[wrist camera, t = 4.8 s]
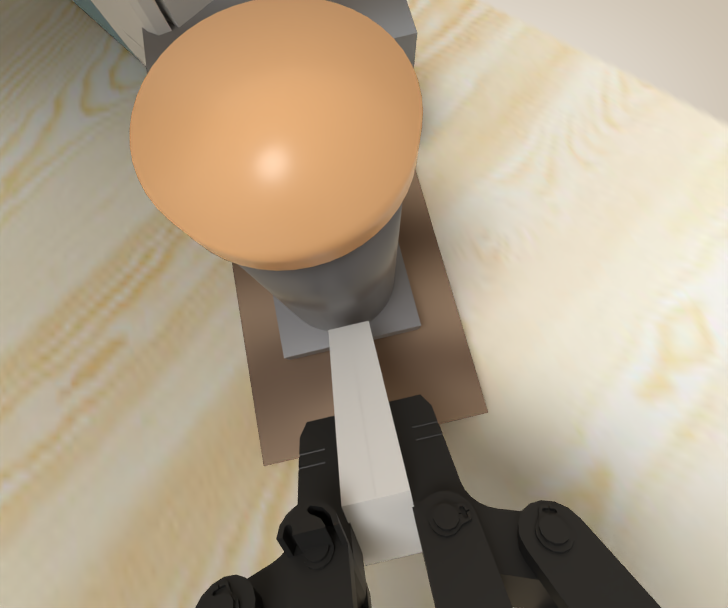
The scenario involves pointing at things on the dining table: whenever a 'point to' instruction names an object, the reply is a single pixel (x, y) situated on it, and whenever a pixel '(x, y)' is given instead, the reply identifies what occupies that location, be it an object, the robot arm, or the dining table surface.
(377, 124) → the knob
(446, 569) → the robot arm
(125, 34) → the stereo radio cassette player
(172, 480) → the dining table surface
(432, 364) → the knob mount
